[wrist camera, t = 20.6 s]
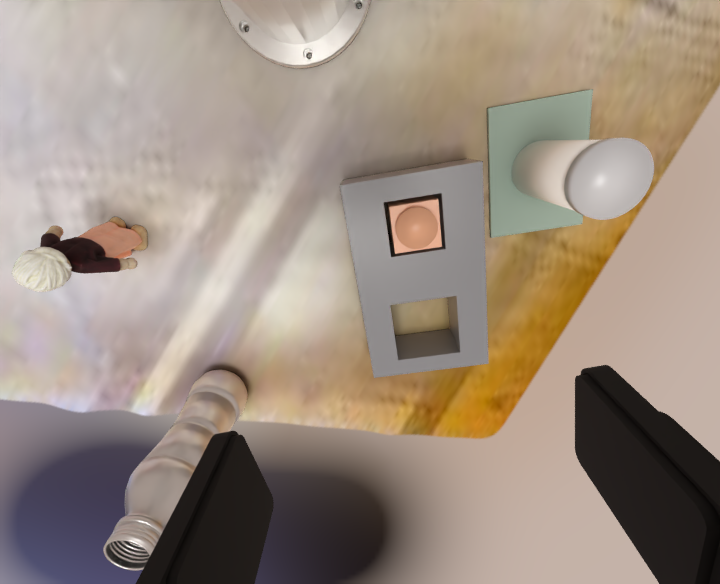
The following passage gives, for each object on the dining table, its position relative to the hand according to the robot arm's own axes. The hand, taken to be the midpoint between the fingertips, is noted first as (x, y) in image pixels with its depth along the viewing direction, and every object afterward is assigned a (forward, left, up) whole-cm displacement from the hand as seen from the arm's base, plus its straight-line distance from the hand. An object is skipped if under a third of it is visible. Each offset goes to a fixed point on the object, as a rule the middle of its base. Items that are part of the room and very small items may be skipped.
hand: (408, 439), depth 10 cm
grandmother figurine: (-3, -26, -29) cm, 39 cm away
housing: (+5, +3, -29) cm, 29 cm away
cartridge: (-3, +16, -28) cm, 32 cm away
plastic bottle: (+17, -22, -29) cm, 40 cm away
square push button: (0, +3, -28) cm, 28 cm away
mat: (-3, +16, -29) cm, 33 cm away
